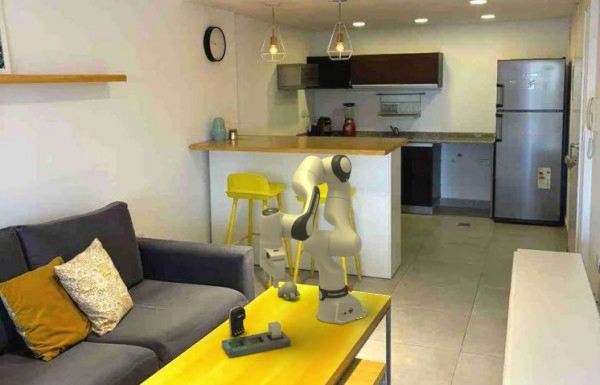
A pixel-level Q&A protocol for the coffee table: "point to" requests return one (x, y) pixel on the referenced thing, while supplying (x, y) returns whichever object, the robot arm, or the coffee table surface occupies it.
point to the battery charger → (237, 321)
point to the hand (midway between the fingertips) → (271, 283)
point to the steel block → (274, 331)
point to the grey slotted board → (254, 348)
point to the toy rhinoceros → (288, 290)
